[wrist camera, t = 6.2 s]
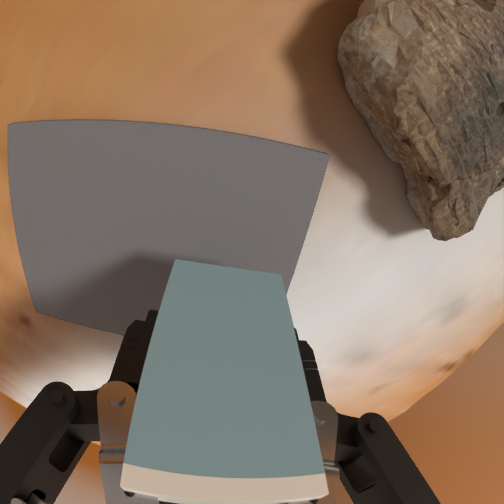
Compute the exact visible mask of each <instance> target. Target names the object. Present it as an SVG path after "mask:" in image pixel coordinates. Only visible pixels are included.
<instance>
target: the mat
mask: <svg viewBox="0 0 504 504" xmlns="http://www.w3.org/2000/svg"><path fill="white" fill-rule="evenodd" d="M329 157H330V155H328V154H327V153H323V152H320V151H316V150H312V149H308V148H304V147H300V146H296V145H292V144H287V143H283V142H279V141H274V140H269V139H264V138H259V137H254V136H249V135H244V134H238V133H232V132H226V131H220V130H214V129H207V128H200V127H192V126H184V125H175V124H165V123H154V122H142V121H125V120H96V119H70V120H43V121H28V122H16V123H11V124H8V173H9V186H10V197H11V205H12V213H13V220H14V226H15V232H16V237H17V242H18V247H19V252H20V256H21V261H22V265H23V269H24V273H25V277H26V280H27V284H28V287H29V291H30V294H31V297H32V300H33V304H34V307H35V310H36V312H38V313H41V314H44V315H48V316H51V317H54V318H58V319H61V320H65V321H68V322H72V323H75V324H79V325H83V326H87V327H91V328H95V329H99V330H103V331H108V332H112V333H116V334H121V335H125V333H126V330H127V327H128V326H129V325H130V324H132V323H133V322H134V321H135V320H141V321H145V320H146V317H147V314H148V312H149V310H150V309H152V310H158V311H159V309H160V306H161V302H162V299H163V296H164V293H165V289H166V286H167V283H168V280H169V277H170V274H171V271H172V268H173V265H174V262H175V259H179V260H185V261H192V262H198V263H205V264H212V265H218V266H225V267H232V268H239V269H246V270H253V271H260V272H267V273H274V274H281V276H282V280H283V284H284V288H285V292H286V294H287V291H288V288H289V285H290V282H291V279H292V276H293V273H294V271H295V268H296V265H297V262H298V259H299V255H300V252H301V249H302V246H303V243H304V240H305V237H306V234H307V231H308V228H309V224H310V221H311V218H312V215H313V212H314V208H315V205H316V202H317V198H318V195H319V192H320V188H321V185H322V182H323V178H324V175H325V171H326V168H327V164H328V161H329Z"/></svg>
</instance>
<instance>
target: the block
mask: <svg viewBox="0 0 504 504" xmlns="http://www.w3.org/2000/svg"><path fill="white" fill-rule="evenodd" d="M120 487H121V488H123V489H124V490H125V491H126V492H127V493H128V494H129V495H130V496H131V497H133V496H134V495H135V493H139V494H144V495H149V496H154V497H157V498H158V499H159V501H164V502H170V503H178V504H286V503H288V502H295V501H304V500H309V503H310V502H311V501H314V500H316V499H318V498H322V497H324V496H326V495H328V494H329V491H328V486H327V481H326V475H325V470H324V465H323V460H322V455H321V450H320V445H319V440H318V435H317V430H316V426H315V421H314V416H313V411H312V407H311V402H310V397H309V393H308V388H307V383H306V379H305V374H304V370H303V365H302V361H301V357H300V352H299V348H298V343H297V339H296V335H295V330H294V326H293V322H292V318H291V313H290V309H289V305H288V301H287V297H286V292H285V288H284V284H283V280H282V276H281V274H274V273H267V272H260V271H253V270H246V269H239V268H232V267H225V266H218V265H212V264H205V263H198V262H192V261H185V260H179V259H175V262H174V265H173V268H172V271H171V274H170V277H169V280H168V283H167V286H166V289H165V293H164V296H163V299H162V302H161V306H160V309H159V312H158V316H157V319H156V323H155V326H154V330H153V333H152V337H151V341H150V344H149V348H148V352H147V356H146V359H145V363H144V367H143V371H142V375H141V379H140V384H139V388H138V392H137V397H136V401H135V405H134V410H133V415H132V420H131V424H130V429H129V435H128V440H127V445H126V451H125V456H124V462H123V469H122V475H121V482H120Z"/></svg>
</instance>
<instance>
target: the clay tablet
mask: <svg viewBox="0 0 504 504" xmlns="http://www.w3.org/2000/svg"><path fill="white" fill-rule="evenodd" d="M337 60H338V62H339V64H340V66H341V68H342V70H343V76H344V81H345V87H346V91H347V93H348V94H349V96H350V98H351V100H352V102H353V104H354V106H355V107H356V109H357V110H358V111H359V112H360V114H361V115H362V116H363V118H364V119H365V121H366V123H367V125H368V126H369V128H370V130H371V133H372V135H373V137H374V138H375V140H376V141H377V142H378V143H379V145H380V146H381V148H382V149H383V151H384V153H385V155H386V156H387V157H388V158H389V159H390V160H392V161H393V162H399V164H400V166H401V167H402V169H403V171H404V175H405V178H406V180H407V198H408V200H409V202H410V205H411V206H412V208H413V210H414V211H415V213H416V215H417V217H418V219H419V221H420V223H421V225H422V226H423V227H424V228H426V229H429V230H430V232H431V234H432V236H433V238H434V239H437V240H443V241H447V240H449V239H452V238H458V237H460V236H462V235H464V234H466V233H468V232H469V231H471V230H473V229H474V226H475V224H476V222H477V219H478V217H479V215H480V213H481V211H482V209H483V207H484V205H485V203H486V201H487V199H488V197H489V196H491V195H492V194H494V192H497V191H499V190H501V189H502V188H503V187H504V0H364V1H363V3H362V4H361V5H360V7H359V8H358V14H357V18H356V19H355V20H354V21H353V22H351V23H350V24H349V25H348V26H347V27H346V29H345V30H344V32H343V34H342V36H341V38H340V42H339V46H338V54H337Z"/></svg>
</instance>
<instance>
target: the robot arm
mask: <svg viewBox="0 0 504 504" xmlns="http://www.w3.org/2000/svg"><path fill="white" fill-rule="evenodd" d="M158 312H159V311H158V310H152V309H150V310H149V312H148V314H147V317H146V320H145V321H141V320H135V321H134V322H133V323H132V324H130V325H129V326H128V327H127V330H126V333H125V335H124V340H123V341H122V344H121V348H120V350H119V352H118V355H117V358H116V361H115V364H114V367H113V370H112V373H111V376H110V379H109V381H108V382H107V383H106V384H104V385H103V386H102V387H101V388H99V389H97V390H92V391H73V390H72V388H71V387H70V386H69V385H67V384H65V383H63V382H52V383H49V384H47V385H46V386H45V387H44V388H43V389H42V390H41V392H40V393H39V394H38V395H37V397H36V398H35V399H34V400H33V402H32V403H31V404H30V405H29V407H28V408H27V409H26V411H25V412H24V413H23V414H22V416H21V417H20V419H19V420H18V421H17V422H16V424H15V425H14V426H13V428H12V429H11V431H10V432H9V433H8V435H7V436H6V437H5V439H4V440H3V441H2V443H1V444H0V504H53V503H54V502H55V500H56V498H57V496H58V495H59V493H60V492H61V490H62V488H63V487H64V485H65V483H66V481H67V480H68V478H69V477H70V475H71V473H72V471H73V470H74V468H75V467H76V465H77V463H78V462H79V460H80V458H81V457H82V455H83V454H84V452H85V450H86V449H87V447H88V446H89V444H90V443H91V441H100V442H101V451H100V452H99V465H100V471H101V477H102V483H103V488H104V493H105V498H106V503H107V504H178V503H170V502H164V501H159V499H158V498H157V497H154V496H149V495H144V494H139V493H135V495H134V496H133V497H131V496H130V495H129V494H128V493H127V492H126V491H125V490H124V489H123V488H121V487H120V482H121V475H122V469H123V462H124V456H125V451H126V445H127V440H128V435H129V429H130V424H131V420H132V415H133V410H134V405H135V401H136V397H137V392H138V388H139V384H140V379H141V375H142V371H143V367H144V363H145V359H146V356H147V352H148V348H149V344H150V341H151V337H152V333H153V330H154V326H155V323H156V319H157V316H158ZM294 330H295V335H296V339H297V343H298V348H299V352H300V357H301V361H302V365H303V370H304V374H305V379H306V383H307V388H308V393H309V397H310V402H311V407H312V411H313V416H314V421H315V426H316V430H317V435H318V440H319V445H320V450H321V455H322V460H323V465H324V470H325V475H326V481H327V486H328V491H329V494H328V495H326V496H324V497H322V498H318V499H316V500H314V501H311V502H310V503H311V504H336V498H337V491H338V484H339V478H340V480H341V482H342V484H343V485H344V487H345V489H346V491H347V492H348V494H349V496H350V498H351V499H352V501H353V503H354V504H440V502H439V500H438V499H437V497H436V496H435V494H434V493H433V491H432V490H431V488H430V486H429V485H428V484H427V482H426V480H425V479H424V477H423V476H422V474H421V473H420V471H419V470H418V468H417V467H416V465H415V463H414V462H413V461H412V459H411V457H410V456H409V454H408V453H407V451H406V450H405V449H404V447H403V445H402V444H401V442H400V441H399V439H398V438H397V436H396V435H395V433H394V432H393V430H392V429H391V427H390V426H389V424H388V423H387V421H386V420H385V419H384V418H383V417H382V416H381V415H379V414H376V413H366V414H364V415H362V416H361V417H360V418H355V417H350V416H346V415H342V414H339V413H337V412H336V410H335V409H334V407H333V406H331V405H330V404H329V403H327V401H326V398H325V394H324V390H323V387H322V383H321V379H320V375H319V371H318V370H317V369H318V368H317V364H316V362H315V356H314V353H313V350H312V348H311V347H310V346H309V344H308V343H307V342H306V341H301V340H299V339H298V335H297V331H296V329H295V328H294ZM310 503H309V500H304V501H295V502H288V503H286V504H310Z"/></svg>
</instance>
